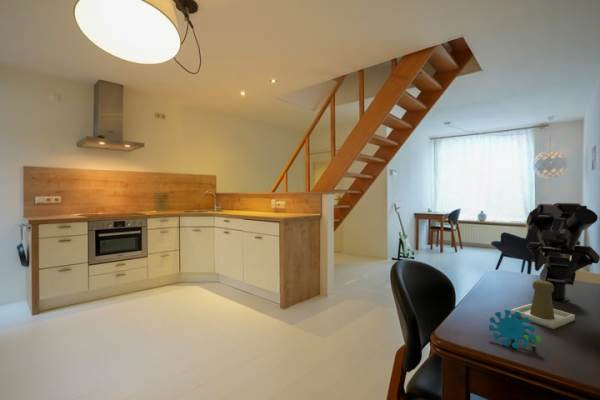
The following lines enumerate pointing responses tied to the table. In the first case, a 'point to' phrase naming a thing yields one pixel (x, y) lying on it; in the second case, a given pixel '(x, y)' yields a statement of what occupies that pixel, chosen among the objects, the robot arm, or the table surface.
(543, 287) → the cork
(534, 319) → the tray
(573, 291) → the table surface
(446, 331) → the table surface
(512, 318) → the gear
